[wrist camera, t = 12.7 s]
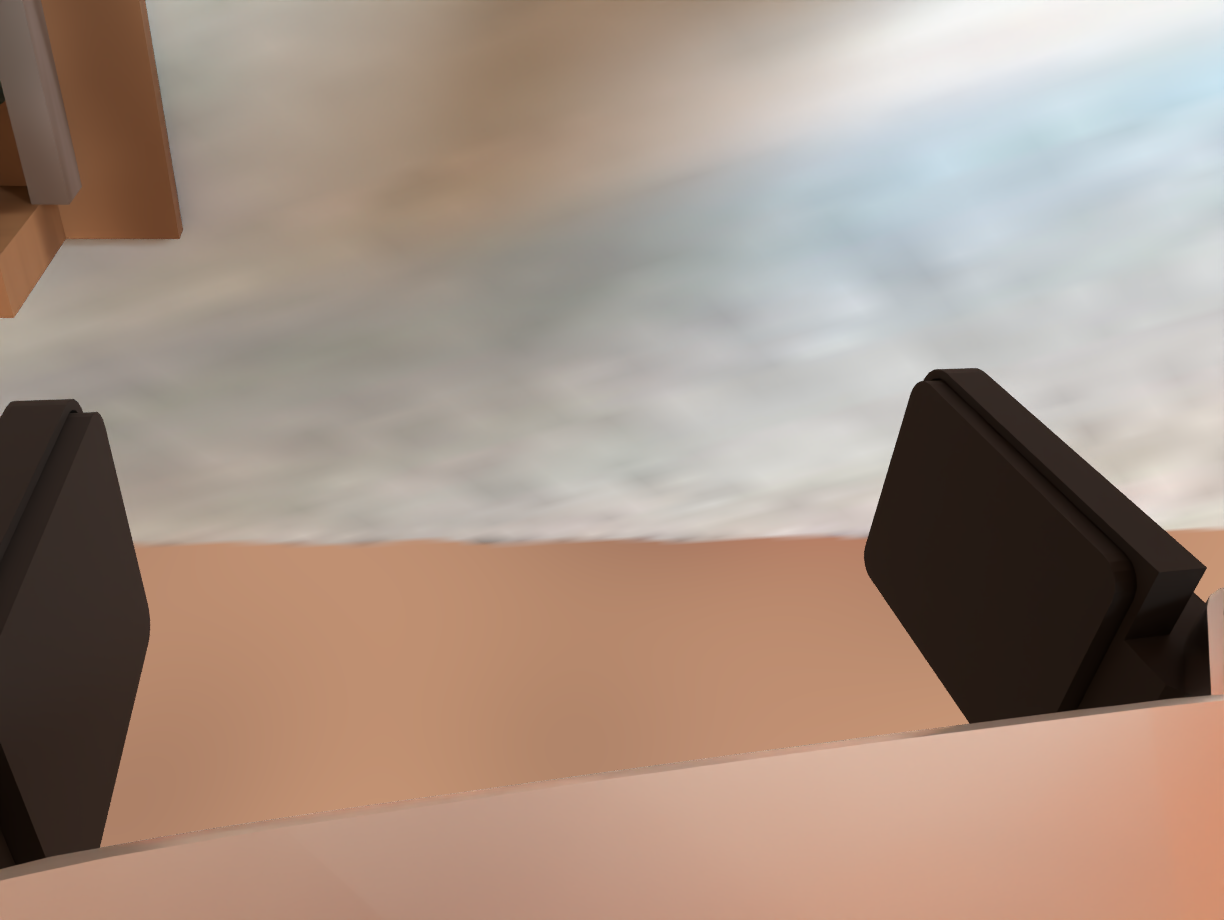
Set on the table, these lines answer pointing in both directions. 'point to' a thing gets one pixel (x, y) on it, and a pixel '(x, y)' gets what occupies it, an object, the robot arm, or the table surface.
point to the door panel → (1, 94)
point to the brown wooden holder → (78, 135)
